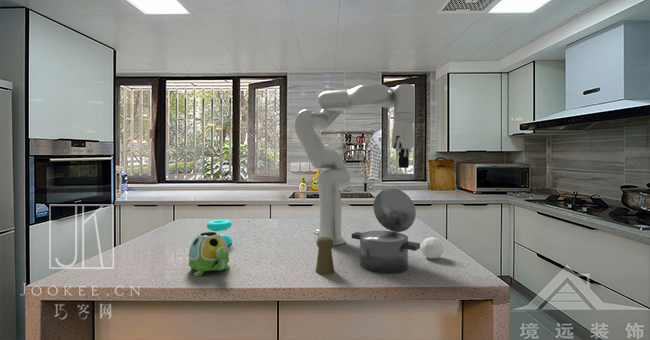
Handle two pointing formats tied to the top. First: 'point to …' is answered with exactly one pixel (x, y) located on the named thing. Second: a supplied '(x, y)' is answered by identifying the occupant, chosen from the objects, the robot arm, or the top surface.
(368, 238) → the pot
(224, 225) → the turquoise spool shape
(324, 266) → the cork
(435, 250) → the geometric ball
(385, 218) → the lid
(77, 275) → the top surface
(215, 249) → the turtle holder
